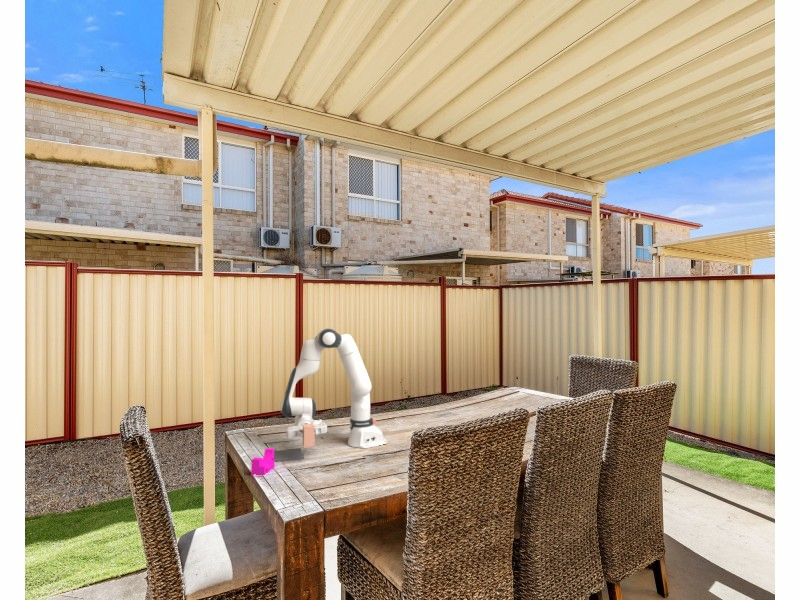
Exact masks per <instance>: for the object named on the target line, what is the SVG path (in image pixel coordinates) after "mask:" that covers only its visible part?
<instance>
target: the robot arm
mask: <svg viewBox="0 0 800 600" xmlns="http://www.w3.org/2000/svg"><path fill="white" fill-rule="evenodd" d="M324 349H336V350H337V353H338V355H339V358H340V360H341V362H342V365H343V368H344V371H345V374H346V375H347V379H348V381H349V384H350V418H349V434H348V435H349V436H348V441H347V445H348V446H350V447H353V448H359V449H364V448H365V449H369V448H374V447H379V445H381V446H384V445H383V444H386V443H387V444H388V440H387V439H386V438H385V437H384V435H383V434H384V433H383V432H382V431H383V430H381V429H380V428H379V427H378V426H376V425H375V424H376V422H377V421H376V420H375V419H374V418H372V417H371V391H372V389H373V387H372V385H373V384H372V382H371V379H370V376H369V374H368V371H367V368H366V366H365V364H364V361H363V359H362V356H361V354H360V350H359V348H358V346H357V343H356V341H355V340H354V338H353V336H352V335H351V334H349V333H342V334H339V333H338V332H337V331H336V330H334V329H333V328H329V327H326V328H323V329H321V330H320V331H319V332H318V333H317V335H316V336H315V338H312V339H311V338H310V339H307V340H304V342H303V344H302V347H301V352H300V357H299V361H298V364H297V365H296V367H294V368H293V369H292V371H291V373H290V376H289V379H288V382H287V386H286V390H285V392H284V396H283V399H282V401H281V403H280V413H281V414H282V415H283V416H284V417H294V425H293V426H288V427H287V428H285V429H284V430H285V433H286V437H287V438H296V437H300V438H303V437H304V433H303V424H312V423H313V424H314V437H315V436H318V435H322V434H326V433H328V425H327V423H325V422H324V421H323V420H322V419H320V418H315V416H316V413H317V405H316V402H315V400H314V399H313V397H293V396H294V391H295V389H296V384H298V382H299V381H300V380H302V379H304V378H308V377H311V376H313V375H314V374H316V373H317V372H318V371H319V369H320V365H321V356H322V352H323V350H324ZM387 444H386V445H387Z"/></svg>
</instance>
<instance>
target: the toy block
mask: <svg viewBox="0 0 800 600" xmlns="http://www.w3.org/2000/svg"><path fill="white" fill-rule="evenodd" d="M274 451H275V448H274V447H273V448H271V447H267V448H265V449H264V454H263V457H259V456H257V457H256V456H255V457H253V458H252V459H251V469H250V470H251V474H250V475H251V477H254V476H253V475H254V474H256V475H265V474H266V473H268V472H269V471H270V470H271V469H272V470H274V469H275V465H276V464H275V463H276V462H275V458H274ZM273 468H274V469H273ZM272 470H271V471H272ZM271 471H270V472H271ZM270 472H269V473H270ZM269 473H268V474H269Z"/></svg>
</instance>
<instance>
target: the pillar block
mask: <svg viewBox="0 0 800 600" xmlns="http://www.w3.org/2000/svg"><path fill="white" fill-rule="evenodd" d="M303 433H304V437H302V445H303V448H304V449H305V448H312V447H313V448H314V447H316V446H315V443H316V442H315V441H316V440H315V436H314V424H313V423H312V424H303Z"/></svg>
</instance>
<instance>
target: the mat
mask: <svg viewBox="0 0 800 600" xmlns="http://www.w3.org/2000/svg"><path fill="white" fill-rule="evenodd" d="M295 460H305V455H304V453H303V451H302V447H297V448H296V447H295V448H288V449H279V450H278V449H277V450H274V461H280V462H285V461H288V462H289V461H295Z"/></svg>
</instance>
